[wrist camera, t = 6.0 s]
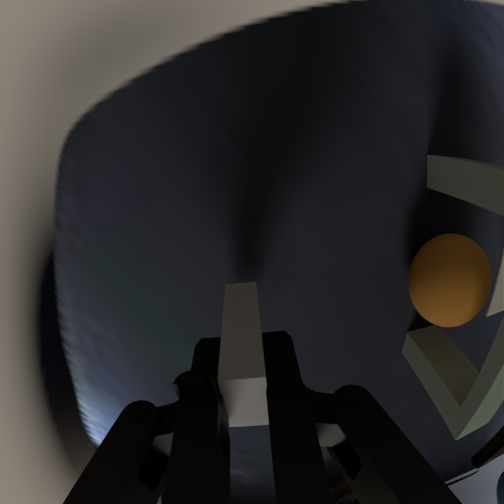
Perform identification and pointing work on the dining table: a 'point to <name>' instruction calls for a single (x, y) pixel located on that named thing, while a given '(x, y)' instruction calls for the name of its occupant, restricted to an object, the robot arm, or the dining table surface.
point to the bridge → (436, 340)
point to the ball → (449, 280)
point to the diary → (490, 450)
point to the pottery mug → (341, 492)
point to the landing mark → (498, 291)
